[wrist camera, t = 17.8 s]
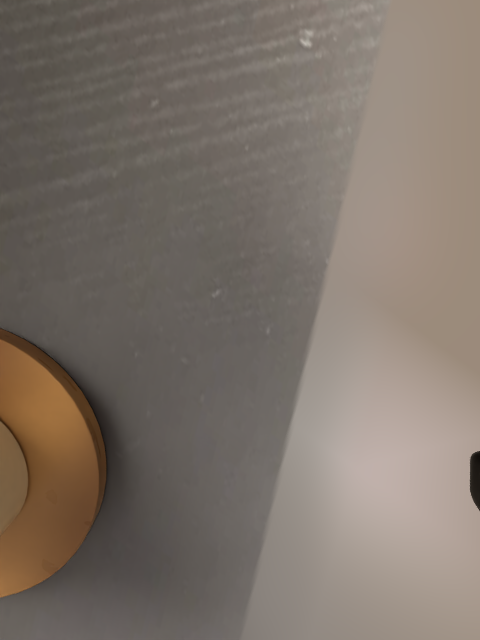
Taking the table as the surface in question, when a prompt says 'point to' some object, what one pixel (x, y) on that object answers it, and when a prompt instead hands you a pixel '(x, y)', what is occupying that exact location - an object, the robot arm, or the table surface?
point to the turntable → (47, 464)
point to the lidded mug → (11, 478)
